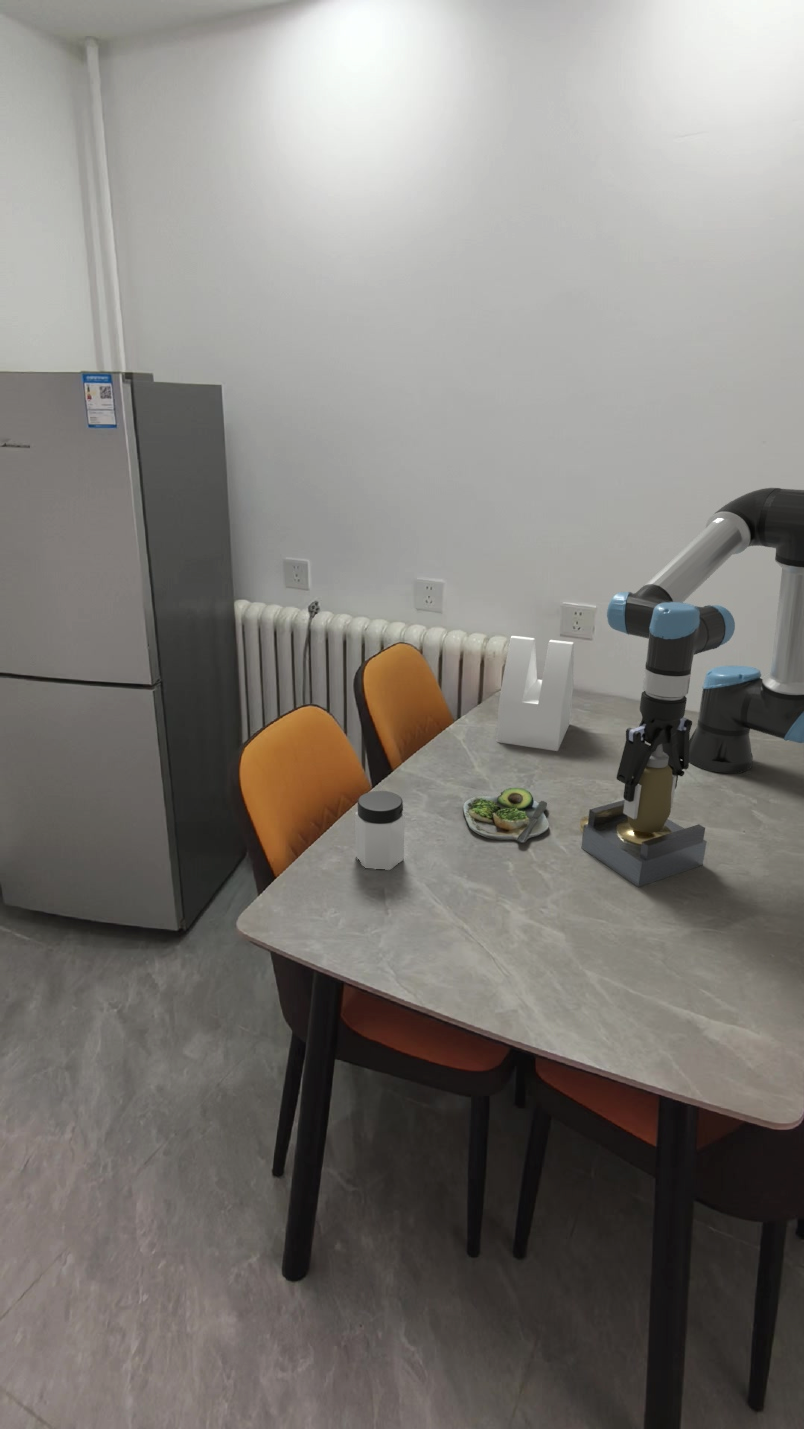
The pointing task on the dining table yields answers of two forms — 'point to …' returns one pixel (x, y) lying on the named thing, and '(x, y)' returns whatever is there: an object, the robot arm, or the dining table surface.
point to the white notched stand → (536, 695)
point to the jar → (379, 830)
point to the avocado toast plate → (507, 815)
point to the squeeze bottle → (654, 794)
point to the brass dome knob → (583, 823)
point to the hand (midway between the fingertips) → (647, 810)
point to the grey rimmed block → (641, 846)
